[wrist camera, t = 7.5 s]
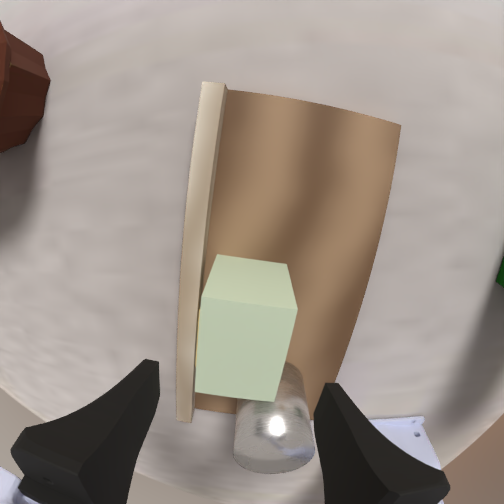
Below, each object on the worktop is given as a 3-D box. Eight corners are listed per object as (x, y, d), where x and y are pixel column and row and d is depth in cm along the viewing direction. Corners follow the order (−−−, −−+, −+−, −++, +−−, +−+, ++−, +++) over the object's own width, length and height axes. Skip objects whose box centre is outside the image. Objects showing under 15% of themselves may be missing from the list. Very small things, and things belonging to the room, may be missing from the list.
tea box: (286, 264, 20) (297, 309, 14) (270, 342, 22) (274, 401, 16) (214, 253, 20) (198, 296, 14) (206, 334, 22) (192, 391, 16)
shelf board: (393, 126, 18) (413, 123, 15) (317, 410, 26) (321, 434, 23) (209, 91, 18) (200, 81, 15) (181, 396, 25) (175, 420, 22)
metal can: (309, 362, 22) (325, 432, 16) (295, 407, 24) (303, 474, 17) (243, 355, 22) (238, 427, 16) (235, 401, 24) (229, 470, 17)
